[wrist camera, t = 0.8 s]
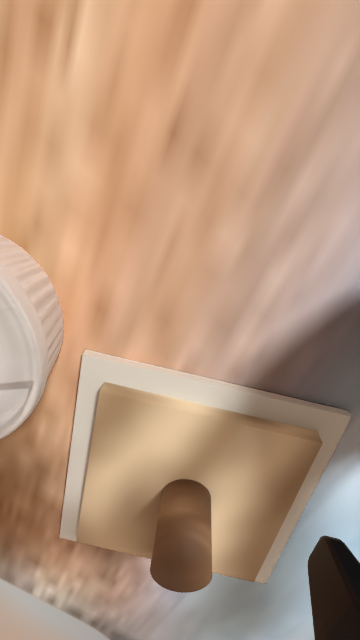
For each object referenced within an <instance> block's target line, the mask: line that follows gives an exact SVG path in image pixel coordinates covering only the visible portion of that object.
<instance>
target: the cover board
mask: <svg viewBox="0 0 360 640" xmlns="http://www.w3.org/2000/svg"><path fill="white" fill-rule="evenodd" d="M322 444H323V443H322V440H321V438H320V436H319V434H318V432H317V431H314V430H310V429H305V428H301V427H297V426H292V425H288V424H284V423H280V422H275V421H271V420H267V419H262V418H258V417H254V416H249V415H245V414H241V413H237V412H232V411H228V410H224V409H219V408H215V407H211V406H206V405H202V404H198V403H194V402H189V401H185V400H181V399H176V398H172V397H168V396H163V395H159V394H155V393H151V392H146V391H142V390H138V389H133V388H129V387H125V386H120V385H116V384H112V383H108V382H104V384H103V386H102V388H101V390H100V393H99V399H98V405H97V412H96V418H95V424H94V431H93V437H92V443H91V450H90V456H89V462H88V469H87V475H86V482H85V488H84V494H83V501H82V507H81V513H80V520H79V526H78V532H77V539H76V542H78V543H83V544H87V545H92V546H96V547H101V548H105V549H110V550H114V551H119V552H123V553H127V554H132V555H136V556H141V557H145V558H150V559H152V560H151V567H150V572H151V575H152V577H153V579H154V580H155V581H156V582H157V583H158V584H159V585H160V586H162V587H164V588H166V589H168V590H171V591H175V592H194V591H198V590H200V589H202V588H204V587H205V586H207V585H208V584H209V582H210V581H211V578H212V573H216V574H221V575H225V576H230V577H234V578H239V579H243V580H248V581H252V582H254V581H255V579H256V577H257V575H258V573H259V571H260V569H261V567H262V565H263V563H264V561H265V559H266V557H267V555H268V553H269V551H270V549H271V546H272V544H273V542H274V540H275V538H276V536H277V534H278V532H279V530H280V528H281V526H282V524H283V522H284V520H285V518H286V516H287V514H288V512H289V510H290V508H291V506H292V504H293V502H294V500H295V498H296V496H297V494H298V492H299V490H300V488H301V486H302V484H303V482H304V480H305V478H306V476H307V474H308V472H309V470H310V468H311V466H312V464H313V462H314V460H315V458H316V456H317V454H318V452H319V450H320V448H321V446H322Z"/></svg>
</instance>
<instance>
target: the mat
mask: <svg viewBox="0 0 360 640" xmlns="http://www.w3.org/2000/svg"><path fill="white" fill-rule="evenodd" d="M104 382H108V383H112V384H116V385H120V386H125V387H129V388H133V389H138V390H142V391H146V392H151V393H155V394H159V395H163V396H168V397H172V398H176V399H181V400H185V401H189V402H194V403H198V404H202V405H206V406H211V407H215V408H219V409H224V410H228V411H232V412H237V413H241V414H245V415H249V416H254V417H258V418H262V419H267V420H271V421H275V422H280V423H284V424H288V425H292V426H297V427H301V428H305V429H310V430H314V431H317V432H318V434H319V436H320V438H321V440H322V443H323V444H322V446H321V448H320V450H319V452H318V454H317V456H316V458H315V460H314V462H313V464H312V466H311V468H310V470H309V472H308V474H307V476H306V478H305V480H304V482H303V484H302V486H301V488H300V490H299V492H298V494H297V496H296V498H295V500H294V502H293V504H292V506H291V508H290V510H289V512H288V514H287V516H286V518H285V520H284V522H283V524H282V526H281V528H280V530H279V532H278V534H277V536H276V538H275V540H274V542H273V544H272V546H271V549H270V551H269V553H268V555H267V557H266V559H265V561H264V563H263V565H262V567H261V569H260V571H259V573H258V575H257V577H256V579H255V582H259V583H264V584H266V582H267V580H268V578H269V576H270V574H271V572H272V570H273V568H274V566H275V564H276V563H277V561H278V559H279V557H280V555H281V553H282V551H283V549H284V547H285V545H286V543H287V541H288V539H289V538H290V536H291V534H292V532H293V530H294V528H295V526H296V524H297V522H298V520H299V518H300V516H301V514H302V512H303V511H304V509H305V507H306V505H307V503H308V501H309V499H310V497H311V495H312V493H313V491H314V489H315V487H316V485H317V484H318V482H319V480H320V478H321V476H322V474H323V472H324V470H325V468H326V466H327V464H328V462H329V460H330V458H331V457H332V455H333V453H334V451H335V449H336V447H337V445H338V443H339V441H340V439H341V437H342V435H343V433H344V431H345V430H346V428H347V426H348V424H349V422H350V420H351V418H352V416H351V415H350V413H349V412H348V411H347V410H343V409H339V408H334V407H330V406H326V405H322V404H317V403H313V402H309V401H304V400H300V399H296V398H292V397H287V396H283V395H279V394H275V393H270V392H266V391H262V390H257V389H253V388H249V387H245V386H240V385H236V384H232V383H227V382H223V381H219V380H215V379H210V378H206V377H202V376H198V375H193V374H189V373H185V372H180V371H176V370H172V369H168V368H163V367H159V366H155V365H151V364H146V363H142V362H138V361H133V360H129V359H125V358H121V357H116V356H112V355H108V354H104V353H99V352H95V351H91V350H85V352H84V353H83V355H82V363H81V371H80V379H79V386H78V394H77V402H76V410H75V418H74V426H73V433H72V441H71V449H70V457H69V465H68V472H67V480H66V488H65V496H64V504H63V512H62V519H61V527H60V535H59V538H63V539H68V540H72V541H76V539H77V532H78V526H79V520H80V513H81V507H82V501H83V494H84V488H85V482H86V475H87V469H88V462H89V456H90V450H91V443H92V437H93V431H94V424H95V418H96V412H97V405H98V399H99V393H100V390H101V388H102V386H103V384H104Z"/></svg>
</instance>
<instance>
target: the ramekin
mask: <svg viewBox="0 0 360 640" xmlns="http://www.w3.org/2000/svg"><path fill="white" fill-rule="evenodd" d="M63 325H64V319H63V314H62V308H61V305H60V301H59V297H58V295H57V293H56V290H55V288H54V286H53V284H52V283H51V281H50V278H49V276H48V275H47V274H46V273H45V272H44V270H43V269H42V267H41V266H40V265H39V264H38V263H37V262H36V261H35V260H34V258H33V257H32V256H31V255H29V254H28V253H27V252H26V251H25V250H24V249H23V248H22V247H20V246H18V245H17V244H15V243H14V242H13V241H11V240H9V239H7V238H5V237H4V236H2V235H1V234H0V439H2V438H4V437H6V436H8V435H9V434H11V433H12V432H13V431H14V430H16V429H17V428H18V427H19V426H21V425H22V424H23V423H24V421H25V420H26V419H27V418H28V417H29V416H30V414H31V413H32V412H33V410H34V409H35V407H36V406H37V404H38V402H39V401H40V399H41V396H42V394H43V392H44V389H45V385H46V381H47V377H48V375H49V373H50V371H51V369H52V367H53V365H54V363H55V361H56V359H57V357H58V355H59V353H60V350H61V345H62V342H63V333H64V327H63Z"/></svg>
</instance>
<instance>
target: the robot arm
mask: <svg viewBox="0 0 360 640" xmlns="http://www.w3.org/2000/svg"><path fill="white" fill-rule="evenodd" d="M308 576H309V586H310V596H311V606H312V616H313V626H314V636H315V640H360V563H359V561H358V560H357V559H356V558H355V556H354V555H353V554H352V552H351V551H350V550H349V549H348V547H347V546H346V545H345V544H344V542H342V541H341V540H340V539H337V538H333V537H329V536H322V537H321V538H320V539H319V541H318V543H317V545H316V546H315V548H314V550H313V551H312V553H311V555H310V557H309V560H308Z"/></svg>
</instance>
